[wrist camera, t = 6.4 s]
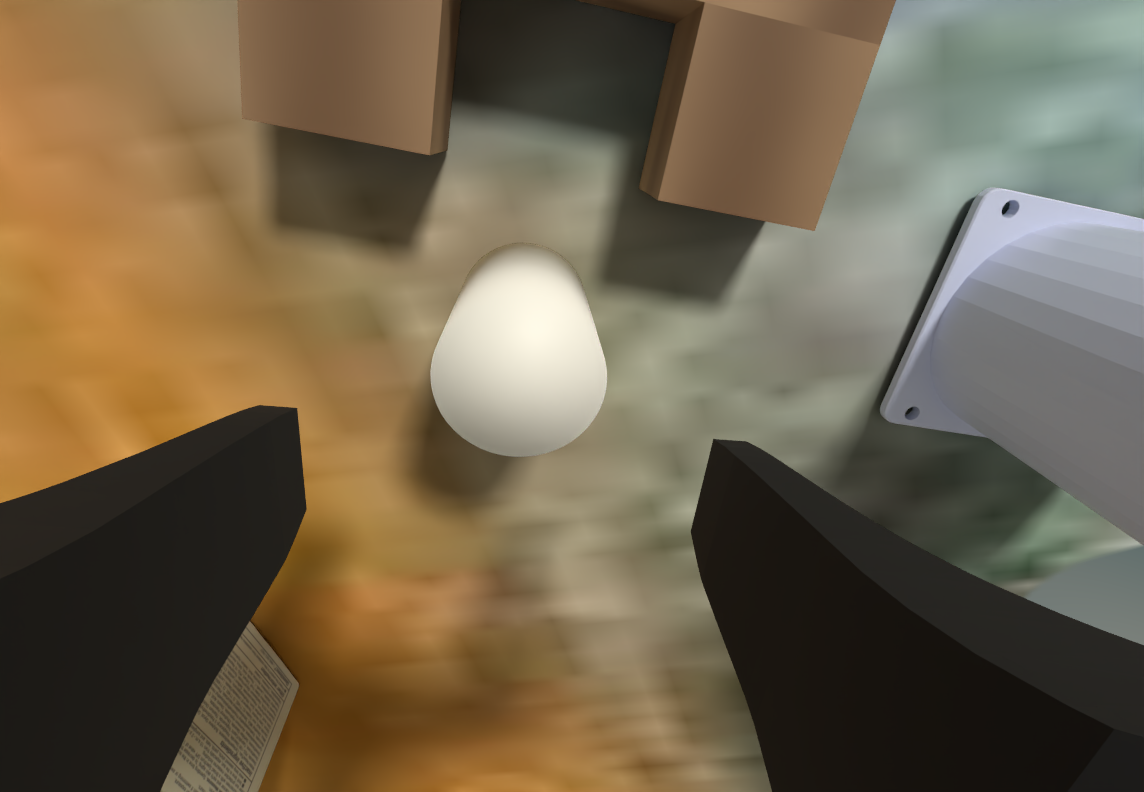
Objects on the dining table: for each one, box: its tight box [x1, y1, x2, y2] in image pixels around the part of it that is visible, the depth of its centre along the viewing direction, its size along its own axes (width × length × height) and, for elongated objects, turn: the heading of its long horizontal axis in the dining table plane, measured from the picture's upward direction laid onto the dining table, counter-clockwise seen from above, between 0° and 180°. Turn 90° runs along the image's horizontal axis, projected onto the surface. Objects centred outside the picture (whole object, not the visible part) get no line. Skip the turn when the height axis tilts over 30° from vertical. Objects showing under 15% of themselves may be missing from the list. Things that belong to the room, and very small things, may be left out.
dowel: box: [430, 243, 607, 457], centre depth 16 cm, size 4×4×6 cm
